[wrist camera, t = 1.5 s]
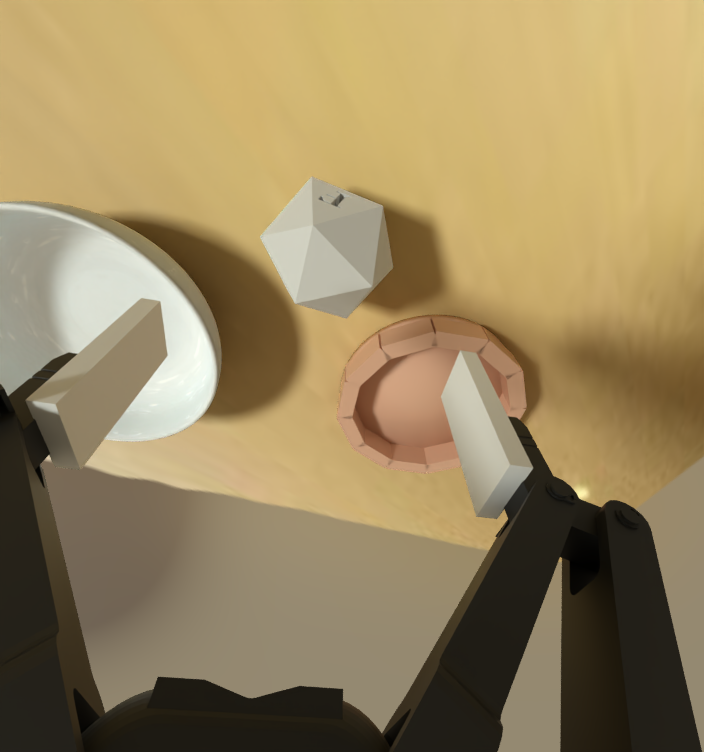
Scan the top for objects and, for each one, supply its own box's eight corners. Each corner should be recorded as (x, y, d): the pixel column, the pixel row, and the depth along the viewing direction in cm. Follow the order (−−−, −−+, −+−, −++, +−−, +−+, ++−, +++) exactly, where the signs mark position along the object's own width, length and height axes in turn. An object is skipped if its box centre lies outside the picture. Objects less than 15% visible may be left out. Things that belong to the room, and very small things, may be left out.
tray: (358, 299, 33) (358, 317, 30) (545, 332, 35) (561, 352, 32) (329, 438, 44) (327, 461, 41) (473, 457, 45) (481, 480, 43)
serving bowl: (63, 114, 25) (-20, 117, 20) (285, 322, 35) (271, 364, 29) (-43, 296, 33) (-122, 334, 28) (160, 424, 43) (131, 472, 37)
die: (410, 243, 31) (412, 179, 21) (364, 340, 31) (344, 324, 21) (321, 205, 32) (281, 128, 22) (278, 299, 32) (221, 266, 23)
